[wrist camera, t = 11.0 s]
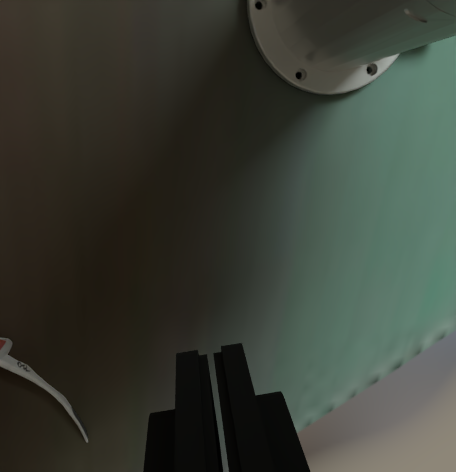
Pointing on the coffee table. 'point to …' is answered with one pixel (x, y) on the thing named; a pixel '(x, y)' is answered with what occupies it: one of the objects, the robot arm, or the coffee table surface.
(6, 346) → the sunglasses
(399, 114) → the coffee table surface
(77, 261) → the coffee table surface
